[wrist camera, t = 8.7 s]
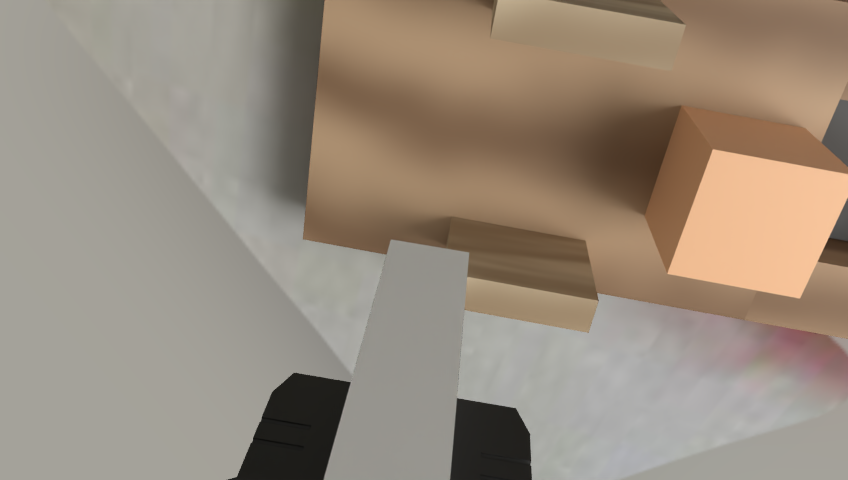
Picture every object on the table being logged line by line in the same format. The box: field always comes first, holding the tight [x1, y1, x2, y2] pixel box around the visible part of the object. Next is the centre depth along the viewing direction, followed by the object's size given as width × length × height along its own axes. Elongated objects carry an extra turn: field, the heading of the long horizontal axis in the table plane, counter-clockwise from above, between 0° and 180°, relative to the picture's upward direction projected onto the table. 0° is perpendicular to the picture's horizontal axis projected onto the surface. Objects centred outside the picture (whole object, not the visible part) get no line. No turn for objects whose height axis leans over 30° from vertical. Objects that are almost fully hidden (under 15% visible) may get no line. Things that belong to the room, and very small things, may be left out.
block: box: [645, 105, 848, 299], centre depth 29 cm, size 5×5×5 cm
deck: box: [303, 0, 848, 339], centre depth 30 cm, size 14×28×8 cm, turn 81°
